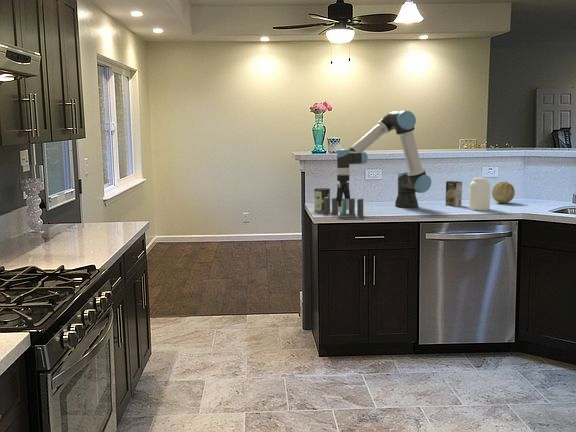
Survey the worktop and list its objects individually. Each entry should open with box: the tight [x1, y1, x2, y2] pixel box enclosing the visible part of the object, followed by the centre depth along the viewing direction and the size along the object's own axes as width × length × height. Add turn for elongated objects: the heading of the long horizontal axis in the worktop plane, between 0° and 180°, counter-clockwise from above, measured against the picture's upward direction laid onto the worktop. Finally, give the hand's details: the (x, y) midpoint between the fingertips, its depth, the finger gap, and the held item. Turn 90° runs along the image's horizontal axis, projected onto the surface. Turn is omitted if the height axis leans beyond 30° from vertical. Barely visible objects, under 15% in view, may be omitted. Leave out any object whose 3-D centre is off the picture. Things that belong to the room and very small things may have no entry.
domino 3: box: [348, 197, 356, 216], centre depth 373 cm, size 2×5×10 cm, turn 154°
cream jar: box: [468, 177, 491, 211], centre depth 387 cm, size 12×12×20 cm
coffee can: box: [313, 187, 331, 213], centre depth 394 cm, size 10×10×14 cm
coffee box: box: [445, 180, 463, 207], centre depth 409 cm, size 9×6×16 cm
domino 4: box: [356, 198, 364, 217], centre depth 370 cm, size 2×5×10 cm, turn 154°
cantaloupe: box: [491, 180, 516, 204], centre depth 416 cm, size 15×15×15 cm
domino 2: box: [331, 196, 339, 215], centre depth 377 cm, size 2×5×10 cm, turn 154°
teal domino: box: [339, 197, 347, 216], centre depth 375 cm, size 2×5×10 cm, turn 154°
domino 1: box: [323, 196, 331, 215], centre depth 380 cm, size 2×5×10 cm, turn 154°
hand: (343, 210), depth 375 cm, fingers open, 10 cm apart
